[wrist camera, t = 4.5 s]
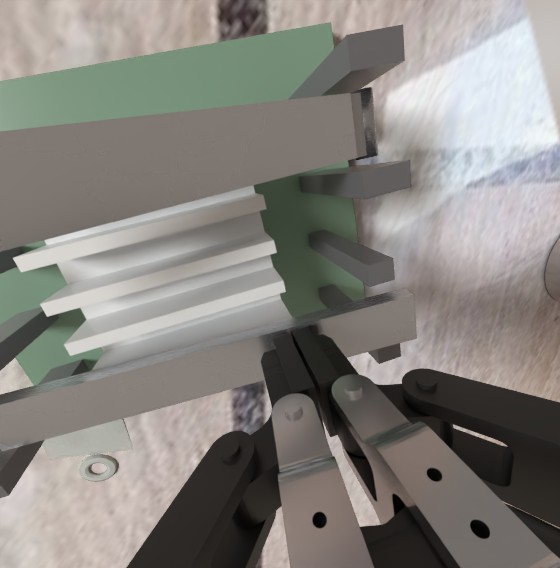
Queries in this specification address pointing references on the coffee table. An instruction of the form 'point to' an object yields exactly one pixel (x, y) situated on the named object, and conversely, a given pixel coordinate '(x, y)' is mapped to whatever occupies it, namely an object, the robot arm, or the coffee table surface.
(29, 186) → the strap
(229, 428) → the coffee table surface
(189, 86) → the heatsink board
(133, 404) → the strap
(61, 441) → the key tag
